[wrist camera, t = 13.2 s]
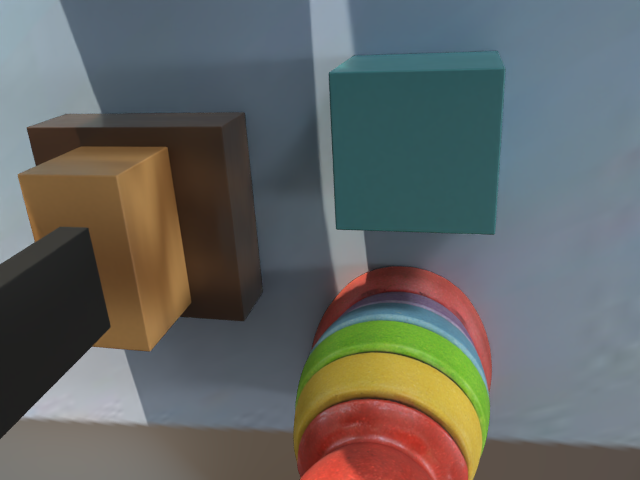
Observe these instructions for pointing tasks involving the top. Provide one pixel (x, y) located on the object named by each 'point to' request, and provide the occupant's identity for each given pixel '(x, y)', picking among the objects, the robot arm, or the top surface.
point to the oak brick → (119, 233)
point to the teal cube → (417, 141)
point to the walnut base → (187, 194)
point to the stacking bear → (395, 383)
